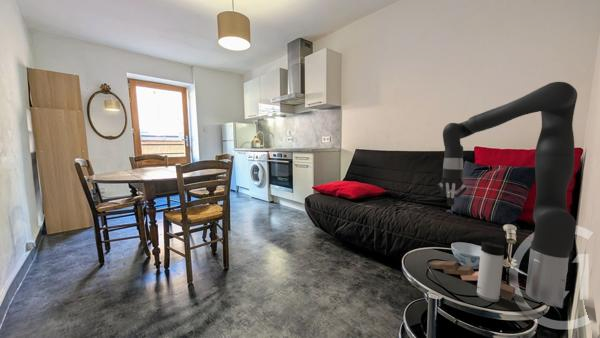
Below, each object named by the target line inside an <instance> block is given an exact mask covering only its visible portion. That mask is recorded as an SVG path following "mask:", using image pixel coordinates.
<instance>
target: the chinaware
mask: <svg viewBox="0 0 600 338" xmlns="http://www.w3.org/2000/svg"><path fill="white" fill-rule="evenodd" d="M450 247H451V252H452V253H453V256H454V257H455V258H456V259H457V260H458V262H460V265H461V266H467V267H473V270H477V269H478V270H479V264H480V253H481V245H477V244H473V243H468V242H460V241H459V242H458V241H457V242H452V243H451V246H450Z"/></svg>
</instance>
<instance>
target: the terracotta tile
mask: <svg viewBox="0 0 600 338" xmlns="http://www.w3.org/2000/svg"><path fill="white" fill-rule="evenodd" d="M478 274H479V270H478V271H474V272H473V273H472V274H471V275H459V276H460V278H461V281H478Z"/></svg>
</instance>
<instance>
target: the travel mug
mask: <svg viewBox="0 0 600 338" xmlns="http://www.w3.org/2000/svg"><path fill="white" fill-rule="evenodd" d="M480 246H481V253H480V264H479V268H478V271H479V274H478V280H477V283H476V287H477V288H476V295H477V296H478V297H480V298H481V299H483V300H484V301H486V302H491V303H497V302H500V286H501V283H502V275H503V265H504V256H505V255H504V254H505V246H504V245H500V244H497V243H496V244H495V243H493V242H490V241H481V245H480Z"/></svg>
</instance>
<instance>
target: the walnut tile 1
mask: <svg viewBox="0 0 600 338" xmlns="http://www.w3.org/2000/svg"><path fill="white" fill-rule="evenodd" d="M458 266H459V262H458V261H456V260H455V261H452V260H450V261H449V260H433V261H432V262H430V263H429V267H430V269H436V270H437V269H438V270H443V269H452V270H455V269H456V268H457V267H458Z"/></svg>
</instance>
